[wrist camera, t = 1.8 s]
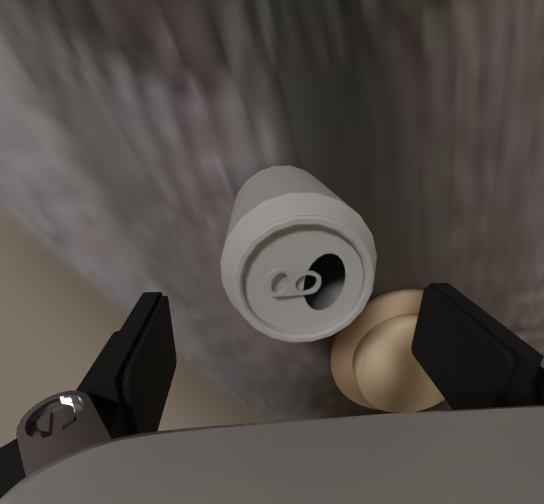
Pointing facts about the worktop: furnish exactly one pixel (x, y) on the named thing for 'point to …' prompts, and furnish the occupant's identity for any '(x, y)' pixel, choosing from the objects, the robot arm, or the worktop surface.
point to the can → (296, 257)
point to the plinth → (383, 356)
